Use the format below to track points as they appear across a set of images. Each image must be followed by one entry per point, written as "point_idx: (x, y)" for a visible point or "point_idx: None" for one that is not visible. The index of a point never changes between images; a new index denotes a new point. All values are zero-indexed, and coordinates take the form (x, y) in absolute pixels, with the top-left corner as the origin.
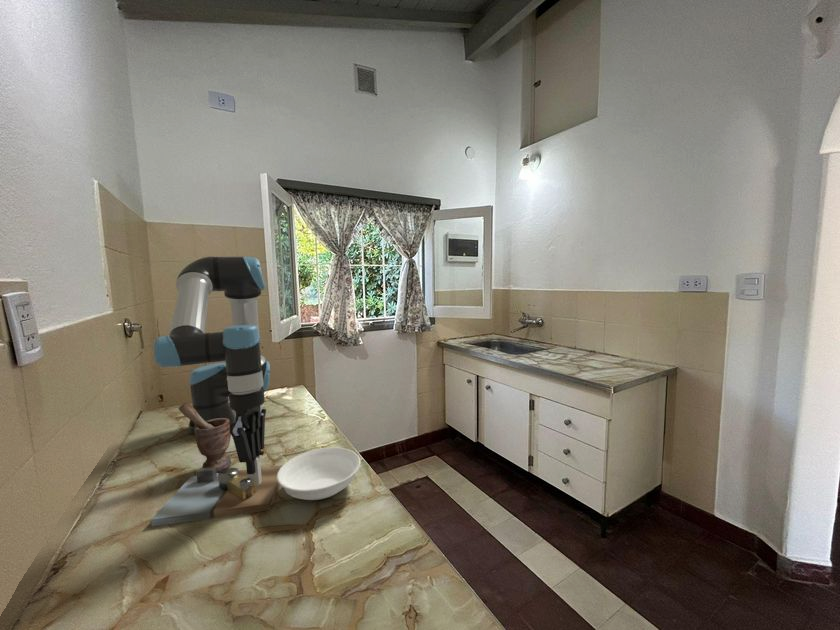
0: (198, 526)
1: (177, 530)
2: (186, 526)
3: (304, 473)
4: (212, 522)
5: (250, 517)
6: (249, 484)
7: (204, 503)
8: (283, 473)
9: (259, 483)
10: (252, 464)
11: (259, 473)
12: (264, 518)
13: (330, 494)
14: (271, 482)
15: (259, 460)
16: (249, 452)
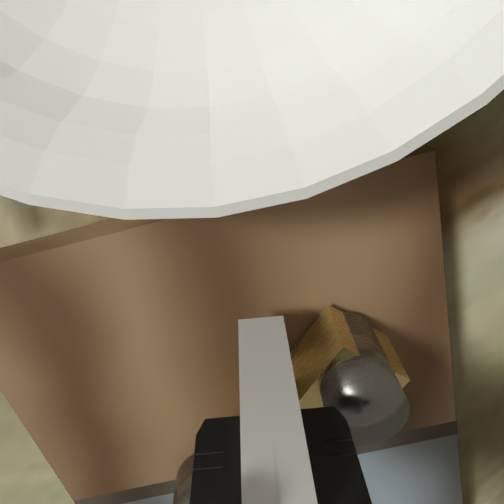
0: (490, 417)
1: (498, 471)
2: (479, 458)
3: (28, 19)
4: (473, 380)
5: (468, 221)
6: (376, 367)
7: (384, 488)
8: (259, 147)
9: (276, 321)
10: (360, 492)
11: (268, 371)
12: (495, 127)
13: None
14: (178, 265)
15: (252, 472)
16: None
